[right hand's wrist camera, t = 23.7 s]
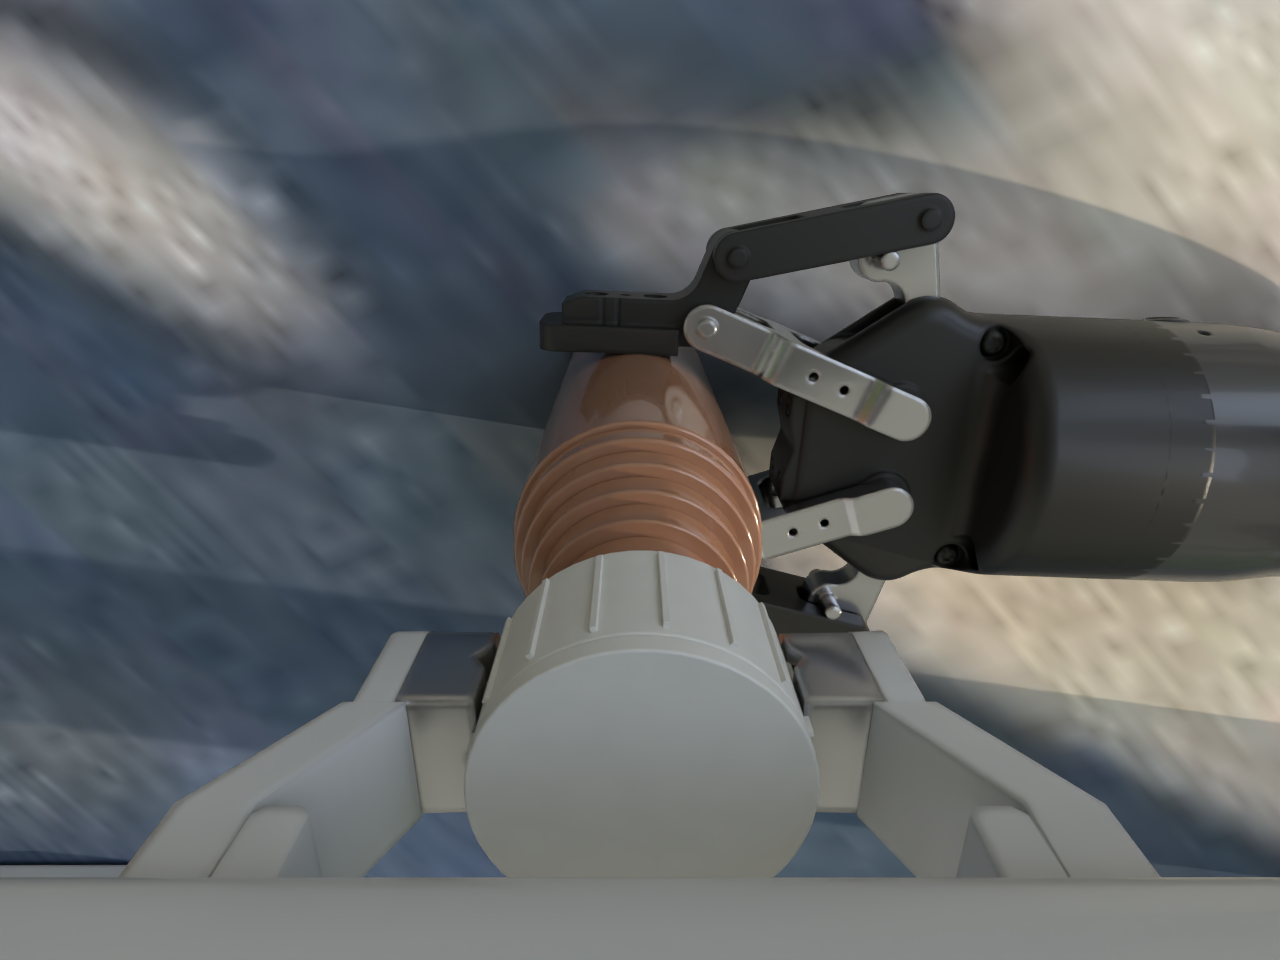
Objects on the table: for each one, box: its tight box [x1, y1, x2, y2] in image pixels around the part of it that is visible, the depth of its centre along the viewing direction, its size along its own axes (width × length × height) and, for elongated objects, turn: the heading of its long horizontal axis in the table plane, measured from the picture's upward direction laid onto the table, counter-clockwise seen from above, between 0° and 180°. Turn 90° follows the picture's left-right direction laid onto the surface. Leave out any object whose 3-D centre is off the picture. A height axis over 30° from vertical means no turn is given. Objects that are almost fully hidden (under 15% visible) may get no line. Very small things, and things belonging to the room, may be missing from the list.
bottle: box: [513, 347, 762, 598], centre depth 18 cm, size 5×5×19 cm
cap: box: [463, 551, 820, 878], centre depth 9 cm, size 4×4×2 cm
